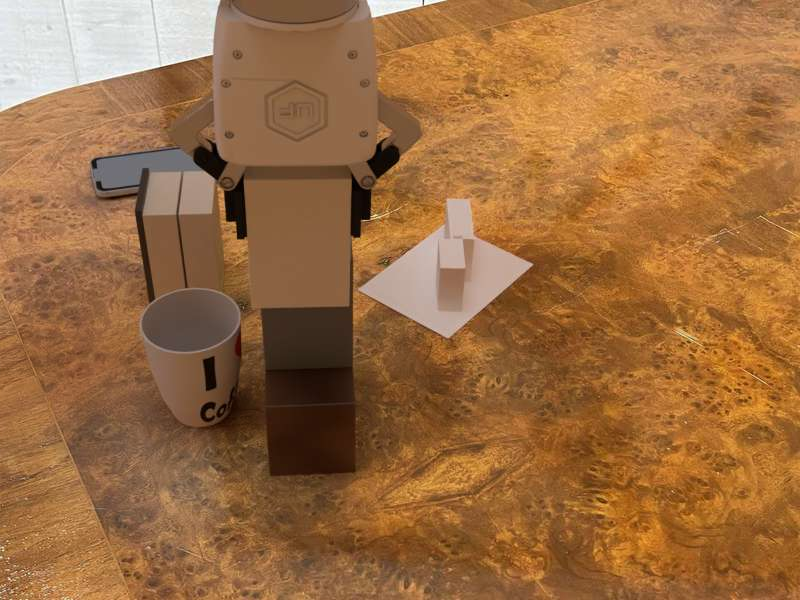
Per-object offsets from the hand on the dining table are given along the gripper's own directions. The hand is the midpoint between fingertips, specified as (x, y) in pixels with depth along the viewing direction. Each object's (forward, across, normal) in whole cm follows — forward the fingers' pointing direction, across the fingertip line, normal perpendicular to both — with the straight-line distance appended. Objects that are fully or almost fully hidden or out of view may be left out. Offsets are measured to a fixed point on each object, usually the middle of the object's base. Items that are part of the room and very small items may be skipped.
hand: (298, 225), depth 74 cm
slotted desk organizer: (+24, -8, +23) cm, 34 cm away
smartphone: (+24, -15, +43) cm, 51 cm away
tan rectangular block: (+6, 0, 0) cm, 6 cm away
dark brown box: (+24, +1, +4) cm, 24 cm away
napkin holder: (+24, +15, +23) cm, 36 cm away
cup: (+24, -9, +6) cm, 26 cm away
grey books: (+16, +1, +5) cm, 16 cm away
